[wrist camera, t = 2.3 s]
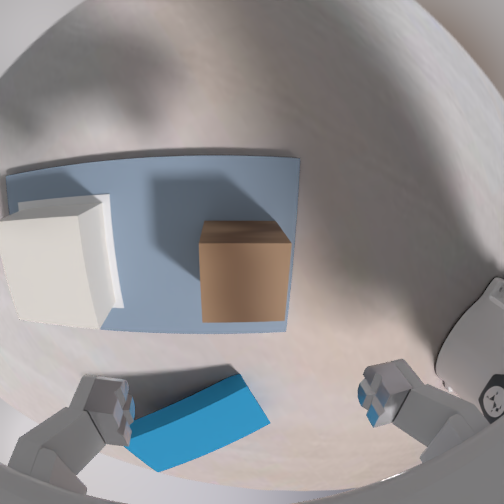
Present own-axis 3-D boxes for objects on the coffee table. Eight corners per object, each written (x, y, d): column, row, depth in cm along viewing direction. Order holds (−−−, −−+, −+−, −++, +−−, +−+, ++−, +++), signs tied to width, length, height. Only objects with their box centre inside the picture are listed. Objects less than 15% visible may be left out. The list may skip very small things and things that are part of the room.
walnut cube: (275, 220, 20) (291, 243, 16) (271, 284, 22) (284, 320, 17) (204, 220, 20) (198, 243, 15) (205, 285, 22) (202, 322, 17)
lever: (225, 348, 31) (95, 408, 27) (246, 386, 24) (93, 451, 20) (248, 385, 33) (128, 439, 29) (270, 423, 27) (132, 480, 23)
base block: (102, 202, 18) (77, 215, 15) (116, 301, 21) (99, 329, 18) (23, 209, 18) (-6, 222, 14) (40, 296, 20) (19, 319, 17)
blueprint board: (297, 157, 20) (300, 158, 19) (284, 326, 25) (286, 332, 24) (11, 174, 17) (5, 176, 16) (38, 317, 22) (34, 322, 21)
